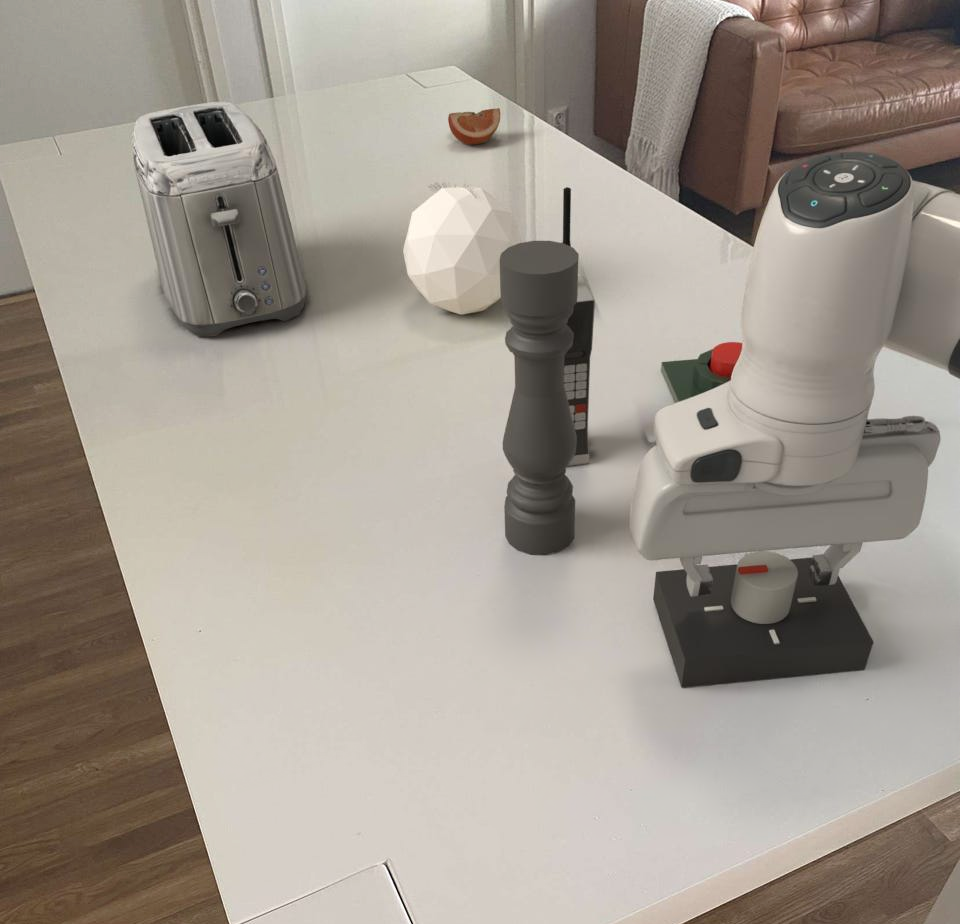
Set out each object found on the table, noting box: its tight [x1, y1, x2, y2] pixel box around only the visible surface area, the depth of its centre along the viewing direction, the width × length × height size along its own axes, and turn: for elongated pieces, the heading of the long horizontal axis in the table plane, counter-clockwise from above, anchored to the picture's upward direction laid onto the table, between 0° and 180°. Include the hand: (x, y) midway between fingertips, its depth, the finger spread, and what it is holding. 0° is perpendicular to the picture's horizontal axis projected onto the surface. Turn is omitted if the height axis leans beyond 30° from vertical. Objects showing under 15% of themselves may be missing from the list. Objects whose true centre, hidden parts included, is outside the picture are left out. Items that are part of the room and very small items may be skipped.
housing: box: [660, 348, 731, 403], centre depth 102 cm, size 12×10×4 cm
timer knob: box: [731, 550, 798, 624], centre depth 76 cm, size 4×4×4 cm
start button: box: [710, 341, 743, 378], centre depth 101 cm, size 4×4×2 cm
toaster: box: [131, 101, 307, 338], centre depth 121 cm, size 17×30×19 cm, turn 19°
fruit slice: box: [447, 107, 501, 145], centre depth 160 cm, size 8×7×5 cm
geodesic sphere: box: [402, 180, 523, 316], centre depth 117 cm, size 15×14×14 cm
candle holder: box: [500, 240, 580, 556], centre depth 81 cm, size 6×6×25 cm
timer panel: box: [652, 556, 874, 689], centre depth 78 cm, size 14×10×3 cm
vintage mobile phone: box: [562, 186, 596, 467], centre depth 89 cm, size 4×5×25 cm
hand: (759, 585), depth 76 cm, fingers open, 8 cm apart
